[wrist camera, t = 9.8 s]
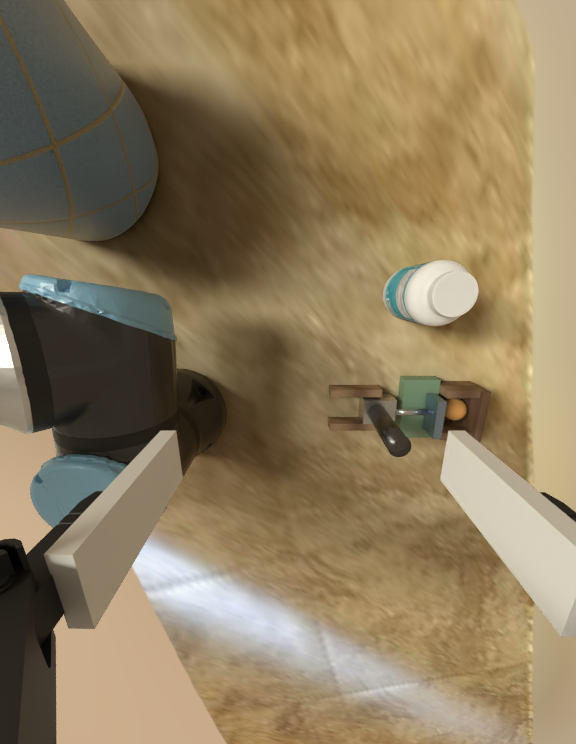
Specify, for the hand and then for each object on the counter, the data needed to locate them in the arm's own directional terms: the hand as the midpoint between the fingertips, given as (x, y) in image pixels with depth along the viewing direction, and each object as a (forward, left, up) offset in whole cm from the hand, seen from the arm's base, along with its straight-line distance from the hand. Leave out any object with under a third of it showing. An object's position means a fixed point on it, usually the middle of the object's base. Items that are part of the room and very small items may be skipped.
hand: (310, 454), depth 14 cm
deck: (+19, -11, -32) cm, 39 cm away
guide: (+9, -11, -32) cm, 35 cm away
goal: (+25, -11, -32) cm, 42 cm away
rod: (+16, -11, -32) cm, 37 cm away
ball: (+25, -11, -30) cm, 40 cm away
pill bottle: (+16, +7, -32) cm, 36 cm away
